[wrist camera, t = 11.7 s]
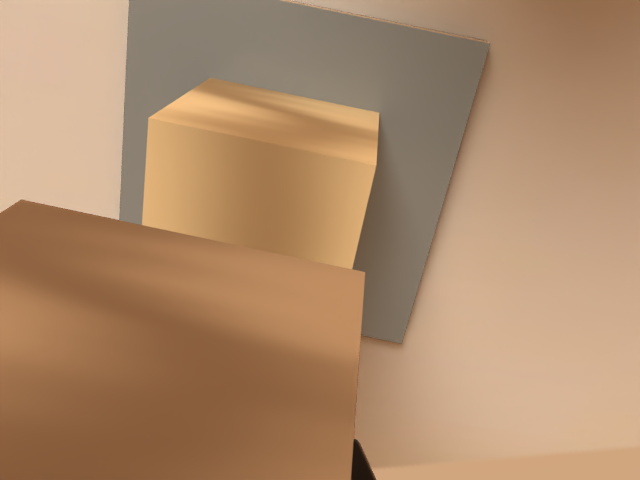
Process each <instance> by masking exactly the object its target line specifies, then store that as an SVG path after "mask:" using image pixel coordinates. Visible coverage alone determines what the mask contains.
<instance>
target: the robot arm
mask: <svg viewBox="0 0 640 480" xmlns="http://www.w3.org/2000/svg"><path fill="white" fill-rule="evenodd" d="M351 480H376V478H375V476H374V473H373V471H372V469H371V467H370V465H369V462H368V460H367V458H366V456H365V453H364V451H363V449H362V447H361V445H360V443H359V442H358V441H357V440H356V439H354V441H353V456H352V470H351Z"/></svg>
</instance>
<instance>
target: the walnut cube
mask: <svg viewBox="0 0 640 480" xmlns="http://www.w3.org/2000/svg"><path fill="white" fill-rule="evenodd" d="M364 282H365V272H362V271H358V270H353V269H348V268H343V267H339V266H334V265H329V264H324V263H320V262H315V261H310V260H305V259H301V258H296V257H291V256H286V255H282V254H277V253H272V252H267V251H263V250H258V249H253V248H248V247H244V246H239V245H234V244H229V243H225V242H220V241H215V240H210V239H206V238H201V237H196V236H191V235H187V234H182V233H177V232H172V231H168V230H163V229H158V228H153V227H149V226H144V225H139V224H134V223H130V222H125V221H120V220H115V219H111V218H106V217H101V216H96V215H92V214H87V213H82V212H77V211H73V210H68V209H63V208H58V207H54V206H49V205H44V204H39V203H35V202H30V201H25V200H20V201H18V202H17V203H15V204H14V205H12V206H11V207H9V208H8V209H6V210H5V211H3V212H1V213H0V480H351V470H352V456H353V441H354V427H355V412H356V398H357V383H358V369H359V355H360V340H361V326H362V311H363V297H364Z"/></svg>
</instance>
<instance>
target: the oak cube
mask: <svg viewBox="0 0 640 480" xmlns="http://www.w3.org/2000/svg"><path fill="white" fill-rule="evenodd" d="M378 128H379V113H378V112H373V111H369V110H364V109H359V108H354V107H349V106H345V105H340V104H335V103H330V102H325V101H320V100H316V99H311V98H306V97H301V96H296V95H291V94H287V93H282V92H277V91H272V90H267V89H262V88H258V87H253V86H248V85H243V84H238V83H233V82H229V81H224V80H219V79H214V78H209V79H207V80H206V81H204V82H203V83H201V84H200V85H198V86H197V87H195V88H194V89H192V90H190V91H189V92H187V93H186V94H184V95H183V96H181V97H180V98H178V99H177V100H175V101H174V102H172V103H171V104H169V105H167V106H166V107H164V108H163V109H161V110H160V111H158V112H157V113H155V114H154V115H152V116H151V117H149V118H148V134H147V150H146V167H145V183H144V200H143V216H142V225H144V226H149V227H153V228H158V229H163V230H168V231H172V232H177V233H182V234H187V235H191V236H196V237H201V238H206V239H210V240H215V241H220V242H225V243H229V244H234V245H239V246H244V247H248V248H253V249H258V250H263V251H267V252H272V253H277V254H282V255H286V256H291V257H296V258H301V259H305V260H310V261H315V262H320V263H324V264H329V265H334V266H339V267H343V268H348V269H352V267H353V263H354V259H355V255H356V250H357V246H358V242H359V238H360V233H361V229H362V225H363V221H364V216H365V212H366V208H367V203H368V199H369V195H370V191H371V186H372V182H373V178H374V174H375V169H376V164H377V146H378Z"/></svg>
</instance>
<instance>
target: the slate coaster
mask: <svg viewBox="0 0 640 480" xmlns="http://www.w3.org/2000/svg"><path fill="white" fill-rule="evenodd" d="M489 46H490V43H489V42H487V41H484V40H479V39H474V38H469V37H464V36H460V35H455V34H450V33H445V32H440V31H435V30H431V29H426V28H421V27H416V26H411V25H406V24H401V23H397V22H392V21H387V20H382V19H377V18H372V17H368V16H363V15H358V14H353V13H348V12H343V11H338V10H334V9H329V8H324V7H319V6H314V5H309V4H304V3H300V2H295V1H290V0H129V14H128V37H127V59H126V82H125V105H124V127H123V150H122V173H121V195H120V218H119V220H120V221H125V222H130V223H134V224H139V225H142V216H143V200H144V183H145V167H146V150H147V134H148V118H149V117H151V116H152V115H154V114H155V113H157V112H158V111H160V110H161V109H163V108H164V107H166V106H167V105H169V104H171V103H172V102H174V101H175V100H177V99H178V98H180V97H181V96H183V95H184V94H186V93H187V92H189V91H190V90H192V89H194V88H195V87H197V86H198V85H200V84H201V83H203V82H204V81H206V80H207V79H209V78H214V79H219V80H224V81H229V82H233V83H238V84H243V85H248V86H253V87H258V88H262V89H267V90H272V91H277V92H282V93H287V94H291V95H296V96H301V97H306V98H311V99H316V100H320V101H325V102H330V103H335V104H340V105H345V106H349V107H354V108H359V109H364V110H369V111H373V112H378V113H379V128H378V146H377V164H376V169H375V174H374V178H373V182H372V186H371V191H370V195H369V199H368V203H367V208H366V212H365V216H364V221H363V225H362V229H361V233H360V238H359V242H358V246H357V250H356V255H355V259H354V263H353V267H352V269H353V270H358V271H362V272H365V282H364V297H363V311H362V326H361V335H362V336H367V337H372V338H377V339H381V340H386V341H391V342H395V343H400V344H402V342H403V338H404V335H405V332H406V328H407V325H408V321H409V318H410V315H411V311H412V308H413V304H414V301H415V298H416V294H417V291H418V287H419V284H420V281H421V277H422V274H423V270H424V267H425V264H426V260H427V257H428V254H429V250H430V247H431V243H432V240H433V237H434V233H435V230H436V226H437V223H438V220H439V216H440V213H441V209H442V206H443V203H444V199H445V196H446V192H447V189H448V186H449V182H450V179H451V175H452V172H453V169H454V165H455V162H456V158H457V155H458V152H459V148H460V145H461V141H462V138H463V135H464V131H465V128H466V125H467V121H468V118H469V114H470V111H471V108H472V104H473V101H474V97H475V94H476V91H477V87H478V84H479V80H480V77H481V74H482V70H483V67H484V63H485V60H486V57H487V53H488V50H489Z"/></svg>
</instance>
